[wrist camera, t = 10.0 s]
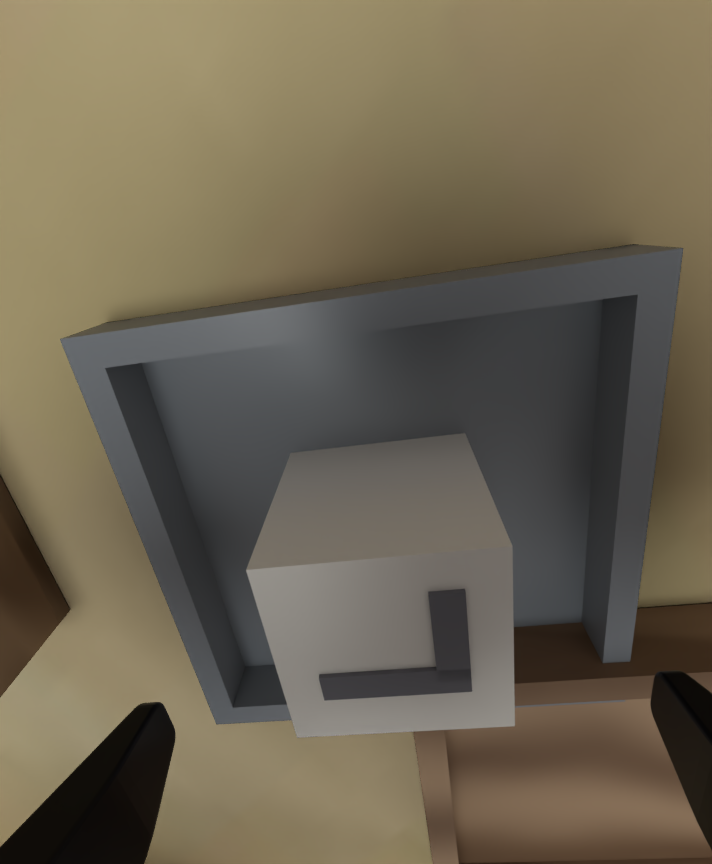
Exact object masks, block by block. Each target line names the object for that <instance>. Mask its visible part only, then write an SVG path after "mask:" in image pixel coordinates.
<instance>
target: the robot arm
mask: <svg viewBox="0 0 712 864" xmlns="http://www.w3.org/2000/svg"><path fill="white" fill-rule="evenodd" d="M650 706H651V712H652V715H653V718H654V721H655V723H656V725H657V728H658V730H659V733H660V735H661V737H662V740H663V742H664V745H665V747H666V749H667V752H668V754H669V757H670V759H671V761H672V764H673V766H674V769H675V771H676V773H677V776H678V778H679V781H680V783H681V785H682V788H683V790H684V793H685V795H686V797H687V800H688V802H689V805H690V807H691V809H692V811H693V814H694V816H695V818H696V821H697V823H698V825H699V827H700V829H701V831H702V833H703V835H704V837H705V839H706V841H707V843H708V845H709V846H710V848H711V850H712V693H711V692H710V691H709V690H707V689H706V688H705V687H703V686H702V685H701V684H700V683H698V682H697V681H696V680H694V679H693V678H692V677H691V676H689V675H688V674H686V673H685V672H682V671H679V670H673V671H659V672H657V673H656V674H655V677H654V682H653V688H652V694H651V701H650ZM174 743H175V729H174V726H173V724H172V722H171V720H170V718H169V715H168V713H167V711H166V709H165V707H164V705H163V704H162V703H160V702H152V703H142V704H140V705H138V706H137V707H136V708H135V709H134V710H133V711H132V712H131V713H130V714H129V715H128V716H127V717H126V718H125V719H124V720H123V721H122V722H121V723H120V724H119V725H118V726H117V727H116V728H115V729H114V730H113V731H112V732H111V733H110V734H109V735H108V736H107V737H106V738H105V740H104V741H103V742H102V743H101V744H100V745H99V746H98V747H97V748H96V749H95V750H94V751H93V752H92V753H91V754H90V755H89V756H88V757H87V758H86V759H85V760H84V761H83V762H82V763H81V764H80V765H79V766H78V767H77V768H76V769H75V770H74V771H73V773H72V774H71V775H70V776H69V777H68V778H67V779H66V780H65V781H64V782H63V783H62V784H61V785H60V786H59V787H58V788H57V789H56V790H55V791H54V792H53V793H52V794H51V795H50V796H49V797H48V798H47V799H46V800H45V801H44V802H43V803H42V804H41V806H40V807H39V808H38V809H37V810H36V811H35V812H34V813H33V814H32V815H31V816H30V817H29V818H28V819H27V820H26V821H25V822H24V823H23V824H22V825H21V826H20V827H19V828H18V829H17V830H16V831H15V832H14V833H13V834H12V835H11V836H10V838H9V839H8V840H7V841H6V842H5V843H4V844H3V845H2V846H1V847H0V864H144V863H145V860H146V857H147V853H148V850H149V847H150V843H151V840H152V837H153V833H154V829H155V825H156V821H157V817H158V813H159V808H160V804H161V800H162V795H163V791H164V787H165V782H166V778H167V774H168V770H169V765H170V761H171V757H172V752H173V748H174Z"/></svg>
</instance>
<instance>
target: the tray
mask: <svg viewBox="0 0 712 864" xmlns="http://www.w3.org/2000/svg"><path fill="white" fill-rule="evenodd" d="M682 254H683V248H676V247H662V246H649V245H636V244H632V245H625V246H619V247H612V248H605V249H598V250H592V251H585V252H578V253H572V254H565V255H558V256H551V257H545V258H538V259H531V260H524V261H518V262H511V263H504V264H497V265H491V266H484V267H477V268H471V269H464V270H457V271H450V272H444V273H437V274H430V275H423V276H417V277H410V278H403V279H396V280H390V281H383V282H376V283H369V284H363V285H356V286H349V287H343V288H336V289H329V290H322V291H316V292H309V293H302V294H295V295H289V296H282V297H275V298H268V299H262V300H255V301H248V302H241V303H235V304H228V305H221V306H215V307H208V308H201V309H194V310H188V311H181V312H174V313H167V314H161V315H154V316H147V317H140V318H134V319H127V320H120V321H113V322H107V323H104V324H101V325H98V326H95V327H93V328H90V329H87V330H84V331H81V332H79V333H76V334H73V335H70V336H67V337H65V338H62V339H60V341H61V343H62V346H63V348H64V350H65V353H66V355H67V358H68V360H69V363H70V365H71V368H72V370H73V373H74V375H75V378H76V380H77V382H78V385H79V387H80V390H81V392H82V395H83V397H84V400H85V402H86V405H87V407H88V409H89V412H90V414H91V417H92V419H93V422H94V424H95V427H96V429H97V432H98V434H99V437H100V439H101V441H102V444H103V446H104V449H105V451H106V454H107V456H108V459H109V461H110V464H111V466H112V469H113V471H114V473H115V476H116V478H117V481H118V483H119V486H120V488H121V491H122V493H123V496H124V498H125V500H126V503H127V505H128V508H129V510H130V513H131V515H132V518H133V520H134V523H135V525H136V528H137V530H138V532H139V535H140V537H141V540H142V542H143V545H144V547H145V550H146V552H147V555H148V557H149V560H150V562H151V564H152V567H153V569H154V572H155V574H156V577H157V579H158V582H159V584H160V587H161V589H162V592H163V594H164V596H165V599H166V601H167V604H168V606H169V609H170V611H171V614H172V616H173V619H174V621H175V623H176V626H177V628H178V631H179V633H180V636H181V638H182V641H183V643H184V646H185V648H186V651H187V653H188V655H189V658H190V660H191V663H192V665H193V668H194V670H195V673H196V675H197V678H198V680H199V683H200V685H201V687H202V690H203V692H204V695H205V697H206V700H207V702H208V705H209V707H210V710H211V712H212V714H213V717H214V719H215V722H216V724H231V723H249V722H267V721H285V720H292V719H291V716H290V712H289V709H288V706H287V703H286V699H285V696H284V693H283V689H282V686H281V683H280V680H279V676H278V673H277V670H276V667H275V663H274V660H273V657H272V653H271V650H270V647H269V644H268V640H267V637H266V634H265V631H264V627H263V624H262V621H261V617H260V614H259V611H258V608H257V604H256V601H255V598H254V595H253V591H252V588H251V585H250V581H249V578H248V575H247V572H246V569H247V566H248V564H249V561H250V558H251V556H252V553H253V550H254V548H255V545H256V543H257V540H258V537H259V535H260V532H261V530H262V527H263V524H264V522H265V519H266V516H267V514H268V511H269V509H270V506H271V503H272V501H273V498H274V496H275V493H276V490H277V488H278V485H279V482H280V480H281V477H282V475H283V472H284V469H285V467H286V464H287V461H288V459H289V456H290V454H291V453H294V452H303V451H312V450H320V449H329V448H338V447H347V446H355V445H364V444H373V443H382V442H390V441H399V440H408V439H417V438H426V437H434V436H443V435H452V434H461V433H465V434H466V437H467V439H468V441H469V444H470V446H471V449H472V451H473V453H474V456H475V458H476V460H477V463H478V465H479V468H480V470H481V472H482V475H483V477H484V479H485V482H486V484H487V487H488V489H489V491H490V494H491V496H492V499H493V501H494V503H495V506H496V508H497V510H498V513H499V515H500V518H501V520H502V522H503V525H504V527H505V530H506V532H507V534H508V537H509V539H510V541H511V544H512V546H513V620H514V627H524V626H538V625H552V624H566V623H579V622H582V624H583V626H584V628H585V630H586V632H587V634H588V636H589V638H590V639H591V641H592V643H593V645H594V647H595V649H596V651H597V653H598V655H599V657H600V659H601V661H602V663H617V662H630V659H631V652H632V644H633V636H634V628H635V620H636V613H637V605H638V597H639V589H640V582H641V574H642V566H643V558H644V550H645V543H646V535H647V527H648V519H649V511H650V504H651V496H652V488H653V480H654V473H655V465H656V457H657V449H658V441H659V434H660V426H661V418H662V410H663V402H664V395H665V387H666V379H667V371H668V363H669V356H670V348H671V340H672V332H673V325H674V317H675V309H676V301H677V293H678V286H679V278H680V270H681V262H682ZM608 702H625V700H614V701H596V702H578V703H560V704H543V705H525V706H515V708H519V707H536V706H554V705H572V704H590V703H608Z"/></svg>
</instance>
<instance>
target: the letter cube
mask: <svg viewBox="0 0 712 864" xmlns="http://www.w3.org/2000/svg"><path fill="white" fill-rule="evenodd" d="M246 572H247V575H248V578H249V581H250V585H251V588H252V591H253V595H254V598H255V601H256V604H257V608H258V611H259V614H260V617H261V621H262V624H263V627H264V631H265V634H266V637H267V640H268V644H269V647H270V650H271V653H272V657H273V660H274V663H275V667H276V670H277V673H278V676H279V680H280V683H281V686H282V689H283V693H284V696H285V699H286V703H287V706H288V709H289V712H290V716H291V719H292V722H293V725H294V729H295V732H296V735H297V738H299V737H318V736H337V735H356V734H376V733H395V732H414V731H433V730H453V729H472V728H491V727H510V726H515V696H514V620H513V546H512V544H511V541H510V539H509V537H508V534H507V532H506V530H505V527H504V525H503V522H502V520H501V518H500V515H499V513H498V510H497V508H496V506H495V503H494V501H493V499H492V496H491V494H490V491H489V489H488V487H487V484H486V482H485V479H484V477H483V475H482V472H481V470H480V468H479V465H478V463H477V460H476V458H475V456H474V453H473V451H472V449H471V446H470V444H469V441H468V439H467V437H466V434H465V433H461V434H452V435H443V436H434V437H426V438H417V439H408V440H399V441H390V442H382V443H373V444H364V445H355V446H347V447H338V448H329V449H320V450H312V451H303V452H294V453H291V454H290V456H289V459H288V461H287V464H286V467H285V469H284V472H283V475H282V477H281V480H280V482H279V485H278V488H277V490H276V493H275V496H274V498H273V501H272V503H271V506H270V509H269V511H268V514H267V516H266V519H265V522H264V524H263V527H262V530H261V532H260V535H259V537H258V540H257V543H256V545H255V548H254V550H253V553H252V556H251V558H250V561H249V564H248V566H247V569H246Z"/></svg>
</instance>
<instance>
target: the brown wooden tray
mask: <svg viewBox="0 0 712 864" xmlns="http://www.w3.org/2000/svg"><path fill="white" fill-rule="evenodd" d="M673 670H679V671H682V672H685V673H686V674H688V675H689V676H691V677H692V678H693V679H694V680H696V681H697V682H698V683H700V684H701V685H702V686H703V687H705V688H706V689H707V690H709V691H710V692H711V693H712V603H708V604H694V605H681V606H668V607H654V608H641V609H637V613H636V620H635V628H634V636H633V644H632V652H631V659H630V662H617V663H602V661H601V659H600V657H599V655H598V653H597V651H596V649H595V647H594V645H593V643H592V641H591V639H590V638H589V636H588V634H587V632H586V630H585V628H584V626H583V624H582V622H579V623H566V624H552V625H538V626H524V627H514V696H515V706H525V705H543V704H560V703H578V702H596V701H614V700H625V702H608V703H590V704H572V705H554V706H536V707H519V708H515V726H510V727H491V728H472V729H453V730H433V731H414V739H415V745H416V752H417V759H418V766H419V772H420V779H421V786H422V793H423V799H424V806H425V813H426V820H427V826H428V833H429V840H430V847H431V853H432V860H433V864H712V850H711V848H710V846H709V845H708V843H707V841H706V839H705V837H704V835H703V833H702V831H701V829H700V827H699V825H698V823H697V821H696V818H695V816H694V814H693V811H692V809H691V807H690V805H689V802H688V800H687V797H686V795H685V793H684V790H683V788H682V785H681V783H680V781H679V778H678V776H677V773H676V771H675V769H674V766H673V764H672V761H671V759H670V757H669V754H668V752H667V749H666V747H665V745H664V742H663V740H662V737H661V735H660V733H659V730H658V728H657V725H656V723H655V721H654V718H653V715H652V712H651V706H650V701H651V694H652V688H653V682H654V677H655V674H656V673H657V672H659V671H673Z"/></svg>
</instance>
